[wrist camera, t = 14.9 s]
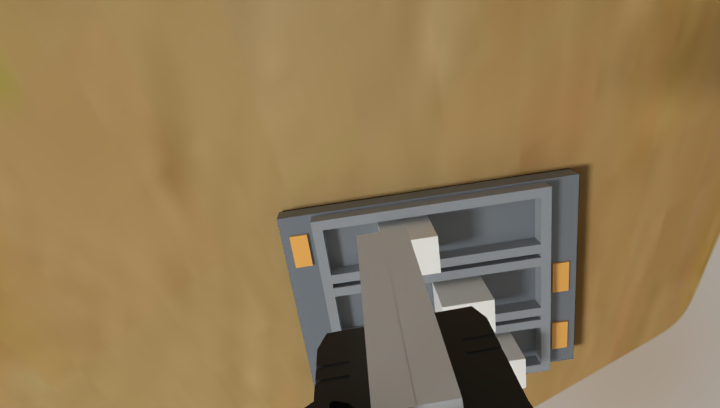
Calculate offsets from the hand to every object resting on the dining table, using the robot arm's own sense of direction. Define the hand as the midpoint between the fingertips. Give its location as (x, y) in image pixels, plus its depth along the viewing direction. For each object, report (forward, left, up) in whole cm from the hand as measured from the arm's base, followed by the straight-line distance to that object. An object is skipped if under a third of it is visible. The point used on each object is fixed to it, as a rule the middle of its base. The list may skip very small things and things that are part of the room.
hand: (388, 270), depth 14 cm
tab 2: (+15, +6, -21) cm, 27 cm away
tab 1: (+9, +2, -21) cm, 23 cm away
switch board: (+15, +5, -23) cm, 28 cm away
